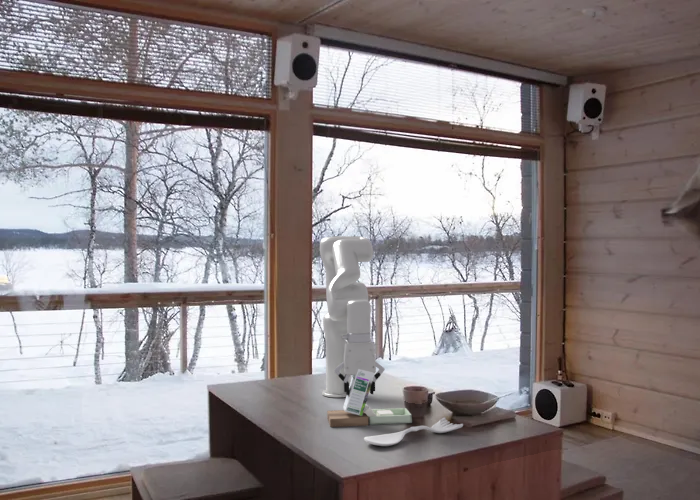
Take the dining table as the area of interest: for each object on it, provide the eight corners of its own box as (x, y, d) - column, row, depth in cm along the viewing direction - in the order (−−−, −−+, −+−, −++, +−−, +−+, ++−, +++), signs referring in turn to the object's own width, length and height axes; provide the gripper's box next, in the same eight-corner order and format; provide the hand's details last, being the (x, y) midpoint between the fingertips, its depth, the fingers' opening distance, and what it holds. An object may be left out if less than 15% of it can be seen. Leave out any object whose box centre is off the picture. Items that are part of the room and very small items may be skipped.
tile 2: (390, 409, 207) (390, 416, 207) (376, 410, 206) (376, 416, 206) (393, 413, 203) (393, 419, 203) (379, 414, 202) (379, 420, 202)
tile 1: (361, 408, 204) (366, 403, 204) (371, 417, 205) (375, 413, 205) (364, 412, 200) (368, 407, 200) (373, 421, 200) (378, 417, 200)
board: (327, 418, 207) (327, 410, 207) (363, 416, 208) (363, 409, 208) (330, 427, 197) (330, 419, 197) (368, 425, 198) (368, 417, 198)
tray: (365, 417, 208) (365, 409, 208) (405, 415, 210) (405, 407, 209) (369, 424, 199) (369, 416, 199) (412, 423, 201) (411, 415, 201)
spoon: (464, 434, 189) (464, 422, 189) (375, 453, 173) (375, 440, 173) (444, 427, 197) (444, 415, 197) (358, 444, 180) (358, 432, 180)
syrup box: (344, 412, 198) (358, 367, 199) (342, 407, 204) (355, 364, 205) (361, 416, 199) (375, 372, 199) (359, 411, 205) (372, 368, 205)
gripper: (333, 340, 197) (333, 397, 197) (387, 339, 199) (388, 395, 199) (330, 337, 205) (331, 392, 204) (383, 336, 207) (384, 390, 207)
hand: (359, 393), depth 202 cm, fingers closed on syrup box, 7 cm apart
